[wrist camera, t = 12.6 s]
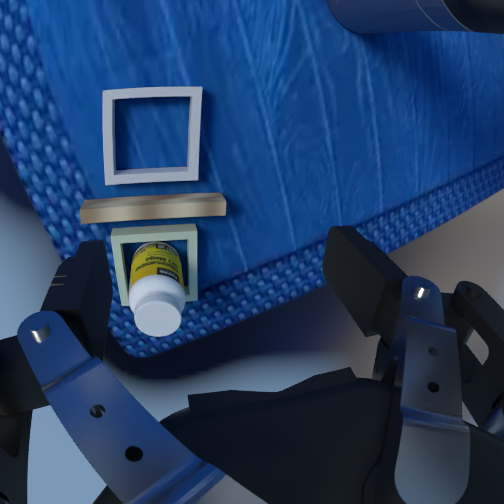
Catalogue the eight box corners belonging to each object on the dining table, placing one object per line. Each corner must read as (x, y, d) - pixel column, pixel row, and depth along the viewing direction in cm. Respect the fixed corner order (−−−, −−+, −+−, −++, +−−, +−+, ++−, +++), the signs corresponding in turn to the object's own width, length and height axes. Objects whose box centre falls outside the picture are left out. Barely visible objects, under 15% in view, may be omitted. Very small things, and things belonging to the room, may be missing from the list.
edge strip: (221, 192, 37) (226, 201, 34) (220, 205, 38) (225, 215, 35) (85, 200, 32) (79, 210, 30) (86, 213, 33) (81, 223, 31)
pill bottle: (181, 239, 38) (191, 294, 29) (179, 281, 41) (188, 341, 32) (131, 239, 36) (124, 295, 27) (132, 281, 39) (129, 342, 30)
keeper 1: (200, 86, 30) (202, 86, 28) (196, 175, 35) (198, 180, 33) (106, 90, 27) (102, 90, 26) (108, 179, 32) (105, 185, 30)
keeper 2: (195, 223, 38) (197, 230, 36) (195, 291, 43) (197, 300, 41) (112, 228, 35) (110, 236, 33) (122, 296, 40) (122, 306, 38)
